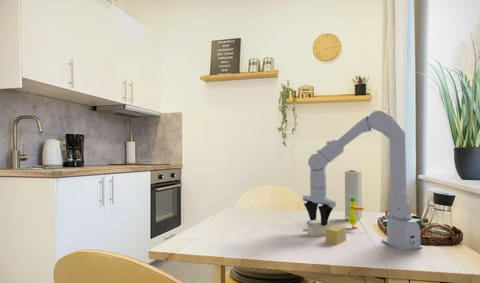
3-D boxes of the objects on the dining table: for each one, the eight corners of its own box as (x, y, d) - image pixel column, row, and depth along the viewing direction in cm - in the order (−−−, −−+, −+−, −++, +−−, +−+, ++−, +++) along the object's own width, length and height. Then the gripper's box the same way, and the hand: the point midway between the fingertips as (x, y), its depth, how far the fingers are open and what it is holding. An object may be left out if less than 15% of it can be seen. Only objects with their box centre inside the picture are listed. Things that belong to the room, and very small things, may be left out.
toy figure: (364, 228, 121) (364, 198, 121) (363, 230, 118) (363, 199, 118) (346, 226, 124) (346, 196, 124) (345, 228, 121) (345, 198, 121)
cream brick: (330, 235, 111) (330, 221, 111) (312, 237, 109) (312, 223, 109) (324, 232, 115) (324, 218, 115) (307, 234, 113) (307, 220, 113)
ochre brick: (346, 241, 104) (345, 226, 104) (337, 246, 99) (336, 231, 99) (334, 238, 107) (334, 224, 107) (325, 244, 102) (325, 229, 102)
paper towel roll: (345, 219, 135) (345, 171, 134) (344, 216, 140) (344, 170, 140) (362, 220, 132) (362, 171, 132) (361, 217, 138) (361, 170, 138)
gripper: (341, 188, 108) (341, 226, 108) (311, 183, 120) (312, 217, 121) (327, 189, 104) (327, 229, 104) (298, 184, 117) (298, 220, 117)
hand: (318, 223), depth 112 cm, fingers open, 5 cm apart
